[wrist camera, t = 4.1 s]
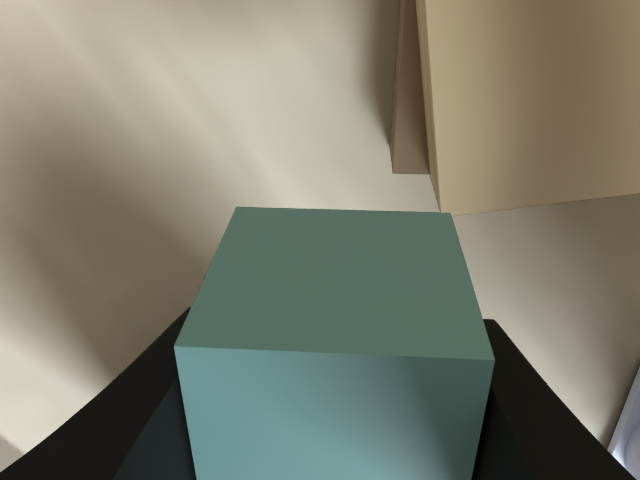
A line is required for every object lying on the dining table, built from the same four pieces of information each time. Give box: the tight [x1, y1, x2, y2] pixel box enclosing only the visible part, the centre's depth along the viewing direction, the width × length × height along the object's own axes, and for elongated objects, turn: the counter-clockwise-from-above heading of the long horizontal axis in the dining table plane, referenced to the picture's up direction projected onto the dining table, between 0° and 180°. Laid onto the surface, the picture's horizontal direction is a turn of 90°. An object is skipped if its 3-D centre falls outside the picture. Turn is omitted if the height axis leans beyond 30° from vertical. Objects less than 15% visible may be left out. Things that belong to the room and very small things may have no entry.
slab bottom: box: [390, 0, 430, 174], centre depth 15 cm, size 7×7×2 cm
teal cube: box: [174, 207, 495, 480], centre depth 10 cm, size 4×4×4 cm
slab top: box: [416, 0, 640, 216], centre depth 12 cm, size 6×6×2 cm
